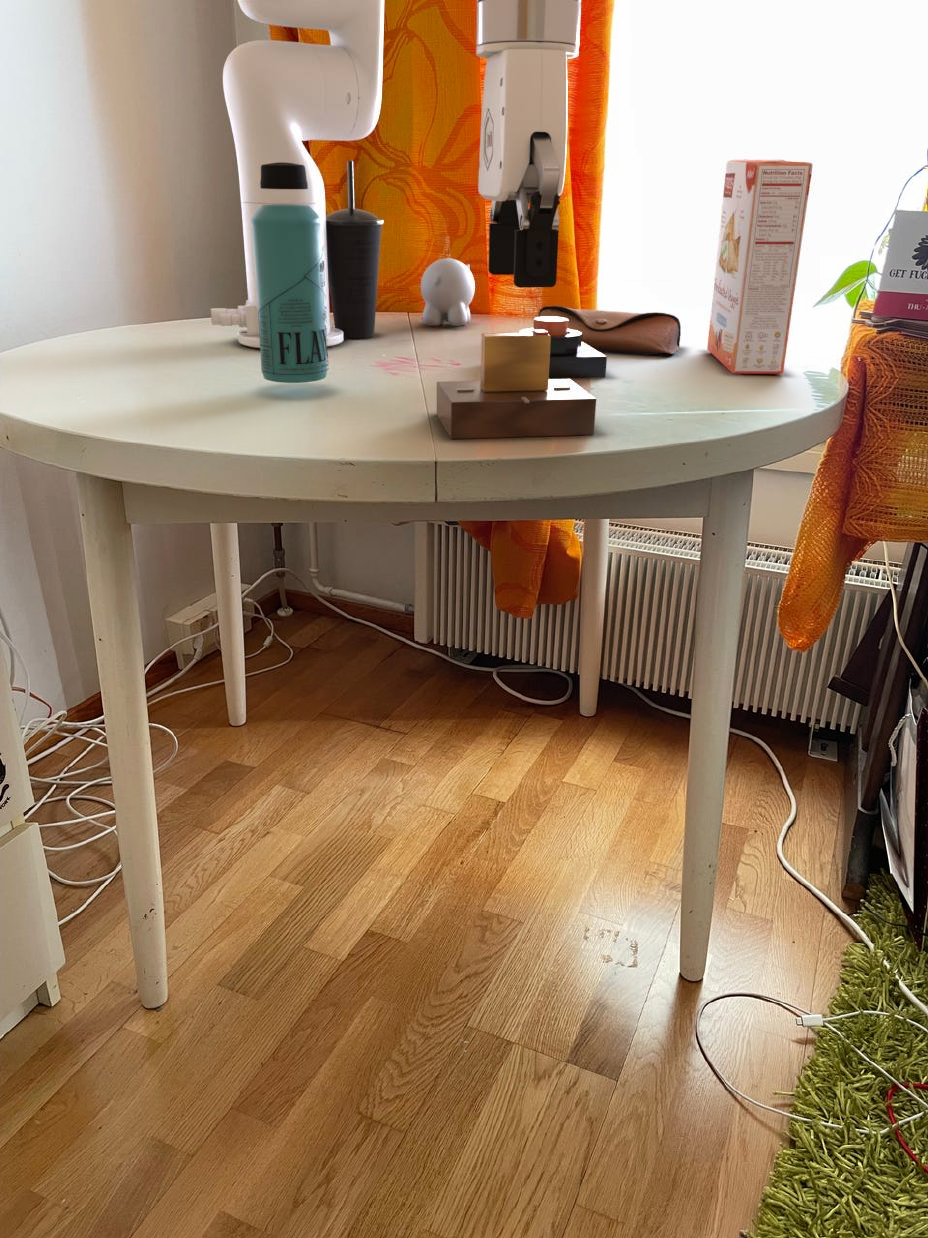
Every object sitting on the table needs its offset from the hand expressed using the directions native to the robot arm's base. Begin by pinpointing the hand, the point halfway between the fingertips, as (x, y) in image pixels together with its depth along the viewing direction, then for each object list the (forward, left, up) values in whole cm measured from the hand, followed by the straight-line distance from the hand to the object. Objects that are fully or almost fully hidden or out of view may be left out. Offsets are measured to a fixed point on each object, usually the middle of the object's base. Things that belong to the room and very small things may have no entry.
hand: (520, 279), depth 79 cm
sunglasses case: (+19, +36, -12) cm, 43 cm away
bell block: (+9, +23, -12) cm, 28 cm away
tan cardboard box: (0, 0, -9) cm, 9 cm away
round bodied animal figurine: (+4, +57, -12) cm, 59 cm away
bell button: (+9, +23, -8) cm, 26 cm away
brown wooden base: (0, 0, -12) cm, 12 cm away
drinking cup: (-10, +47, -12) cm, 50 cm away
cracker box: (+32, +25, -12) cm, 42 cm away
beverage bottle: (-18, +15, -12) cm, 27 cm away
